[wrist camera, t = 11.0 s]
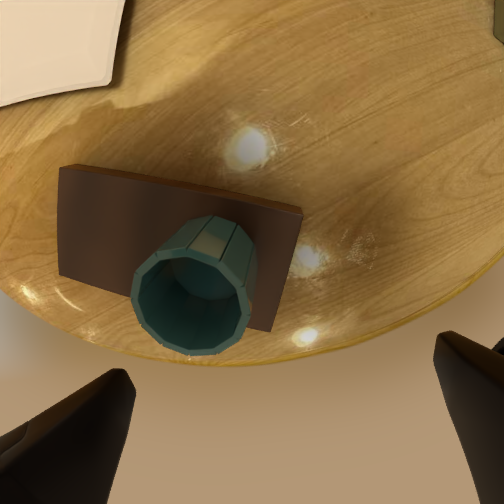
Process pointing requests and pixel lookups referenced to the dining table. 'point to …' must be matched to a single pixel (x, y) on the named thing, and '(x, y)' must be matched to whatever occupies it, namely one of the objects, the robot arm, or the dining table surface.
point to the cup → (198, 287)
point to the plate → (56, 46)
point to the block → (162, 229)
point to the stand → (499, 20)
